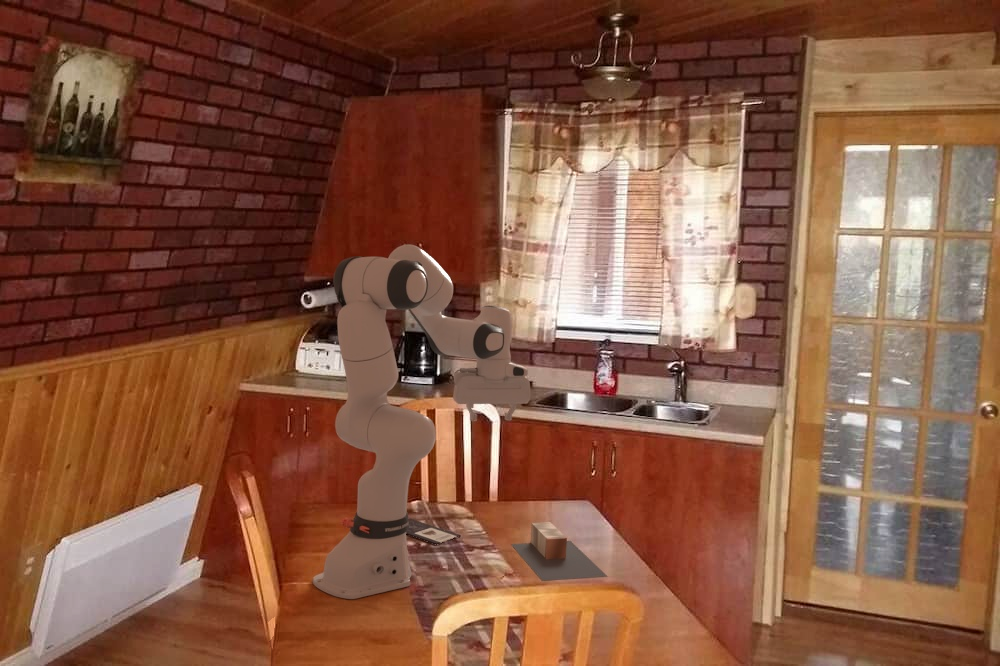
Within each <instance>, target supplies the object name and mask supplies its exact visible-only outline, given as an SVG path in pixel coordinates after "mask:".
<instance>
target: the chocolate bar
mask: <svg viewBox="0 0 1000 666" xmlns="http://www.w3.org/2000/svg"><path fill="white" fill-rule="evenodd" d="M444 530H445V531H444ZM406 534H408V535H410V536H414V537H417V538H420V539H422V540H425V541H428V542H430V543H429V544H431V543H433V544H432V545H434V544H436V545H435V546H438V545H437V544H439V545H441V544H440V543H442V542H444V541H447V540H450V539H453V538H454V537H458V536H460V537H461V534H458V533H455V532H452V531H449V530H446V529H443V528H439V527H437V526H434V525H431V524H427V523H425V522H422V521H419V520H415V519H414V518H413V519H412V518H408V530H407V531H406ZM408 535H407V536H408ZM410 536H409V537H410ZM422 540H421V541H422ZM453 540H454V539H453ZM425 541H424V542H425ZM428 542H427V543H428ZM442 544H443V543H442Z"/></svg>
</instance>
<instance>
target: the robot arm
mask: <svg viewBox="0 0 1000 666" xmlns="http://www.w3.org/2000/svg"><path fill="white" fill-rule="evenodd" d="M333 288H334V293H335V295H336V299H337V303H338V304H339V306H340V307H341V309H340V310H339V311H338V313H337V321H336V323H337V336H338V343H339V350H340V355H341V359H342V364H343V368H344V373H345V378H346V383H347V398H346V402H345V403H344V404H342V406H341V407H340V408H339V410H338V412H337V414H336V417H335V421H334V426H335V427H334V428H335V433H336V434H337V436H338V438H339V439H341V441H343V442H344V443H346V444H348V445H350V446H352V447H354V448H356V449H359V450H362V451H363V450H364V451H368V452H371V453H375V462H374V465H373V467H372V469H370V470H368V471H366V472H365V473H364V474H363V475H362V476H361V477H360V478H359V480H358V482H357V483H358V484H357V505H356V507H357V509H356V512H355V515H354V516H353V519H350V518H349V517H344V518H342V520H341V525H342V527H344V528H347V529H349V532H348V533H347V535H345V536H344V537H343V538H342V539H341V540H340V542H339V543H337V544H336V545H335V547H334V548H333V549H332V550H331V551H330V552H329V553H328V554H327V555H326V558H325V562H324V567H323V568H324V569H323V572H321V573H318V574H316V575H315V576H313V577H312V584H313V585H314V587H316V588H317V589H319V590H320V591H322V592H324V593H326V594H328V595H330V596H333V597H337V598H341V599H347V600H356V599H359V598H364V597H367V596H368V597H369V596H372V595H376V594H381V593H385V592H389V591H394V590H398V589H403V588H406V587H410V586H411V577H412V575H413V574H412V570H411V566H410V560H409V555H408V553H409V552H408V543H407V535H406V531H407V530H408V519H409V513H408V512H407V511H408V510H407V509H408V495H409V494H408V493H409V485H410V479H411V476H412V474H413V471H414V469H415V467H416V465H417V464H418V463H419V462H420V461H421V460H423V459H424V458H426V457H427V456H428V455H429V454H430V452H431V451H432V450H433V448H434V446H435V443H436V439H437V431H436V425H435V424H434V421H433V420H432V419H431V418H430V417H428V416H427V415H425V414H422V413H421V412H419V411H416V410H414V409H409V408H404V407H400V406H396V405H392V404H390V402H389V400H388V392H389V391H390V390H392V389H393V388H394V386H395V385H396V384H397V381H398V380H399V370H398V366H397V365H398V364H397V361H396V360H397V359H396V356H395V351H394V347H393V342H392V339H391V334H390V330H389V327H388V325H387V322H386V317H387V316H386V315H387V310H399V311H405V310H406V311H407V310H408V311H409V313H410V314H411V316H412V317H413V319H414V320H415V322H416V323H417V324H418V326H419V327H420V329H421V330H422V331H423V333H424V334H425V336H426V338H427V342H428V343H429V346H430V348H431V350H432V352H434V354H436V355H438V356H446V357H447V356H448V357H449V356H450V357H459V358H466V359H472V360H473V359H474V360H476V367H469V368H466V367H460V368H459V369H457V370H456V371H455V372H454V373H453V383H454V386H453V387H454V388H453V395H452V399H453V401H454V402H455V403H456V405H457V404H458V405H466V409H467V411H468V412H469V420H470V421H471V422H477V420H478V414H477V413H475V412H474V411H473V408H474V405H497V404H498V405H503V404H504V405H505V404H508V407H510V408H509V410H508V412H504V420H505V421H512V420H513V414H514V412H515V411H516V409H517V404H528V403H529V402H530V400H531V383H530V380H529V378H528V375H529V369H527V368H526V367H525V366H522V365H521V364H518V363H517V362H513V361H512V360H511V359H512V355H511V349H510V348H511V344H512V341H513V340H512V339H513V323H512V314H511V311H510V310H509V309H508V308H506V307H502V306H496V305H483V306H481V308H480V313H479V314H478V316H476V317H475V318H474V319H473V318H472V319H466V318H465V319H464V318H457V317H452V316H446V315H443V314H442V311H444V310H445V309H446V308H447V307H448V306H449V304H450V302H451V301H452V299H453V296H454V295H453V294H454V284H453V281H452V280H451V277H450V275H449V274H448V273H447V272H446V271H445V270H444V268H443V267H442V266H441V265H440V264H439V263H438V262H437V261H436V260H435V259H434V258H433V257H432V255H430V254H428V253H427V252H426V251H425V250H423V249H421V247H419V246H416V245H414V244H411V243H410V244H404V245H400V246H398V247H396V248H395V249H393V251H392V252H390V254H389V256H388V258H387V257H383V256H364V257H362V256H352V257H348V258H344V259H343V260H341V261H340V262H339V263H338V264H337V266H336V268H335V271H334V274H333Z"/></svg>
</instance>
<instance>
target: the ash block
mask: <svg viewBox="0 0 1000 666" xmlns="http://www.w3.org/2000/svg"><path fill="white" fill-rule="evenodd" d="M530 526H531V529H530V543H532V544H533V545H534V546H535V548H536V549H537V550H538V551H539V552H540V553H541V554H542V555H543V556H544V557H545V558H546V559H560V558H566V547H567V541H568V537H566V536H565V534H564V533H562V532H561V530H559V529H558V528H557V527H556V526H555V525H554V524H553V522H550V521H547V522H546V521H545V522H544V521H543V522H531V525H530Z"/></svg>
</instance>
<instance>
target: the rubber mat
mask: <svg viewBox="0 0 1000 666" xmlns="http://www.w3.org/2000/svg"><path fill="white" fill-rule="evenodd" d="M510 545H511V547H512V548H513V549H514V550H515V551H516V552H517V553H518V555H519V556H520V557H521V558H522V559H523V561H524V562H525V563H526V564H527V565H528V566H529V568H530V569H531V570H532V571H533V572H534V574H536V575H537V577H538V578H539V579H540V580H541V582H547V581H549V582H550V581H563V580H576V579H577V580H578V579H591V578H594V579H595V578H605V577H608V575H607V574H606V573H605V572H604V571H603V570H602V569H601V568H600V567H599V566H598V565H596V563H594V562H593V561H592V560H591V559H590V558H589V557H588V556H587V555H586V554H585V553H584V552H583V551H582V550H581V549H579V547H578V546H576V544H574V543H573V541H571V540H567V547H566V558H560V559H546V558H545V557H544V556H543V555H542V554H541V553H540V552H539V551H538V550H537V549H536V548H535V546H534V545H533V544H532V543H531V542H527V543H511V544H510Z"/></svg>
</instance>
